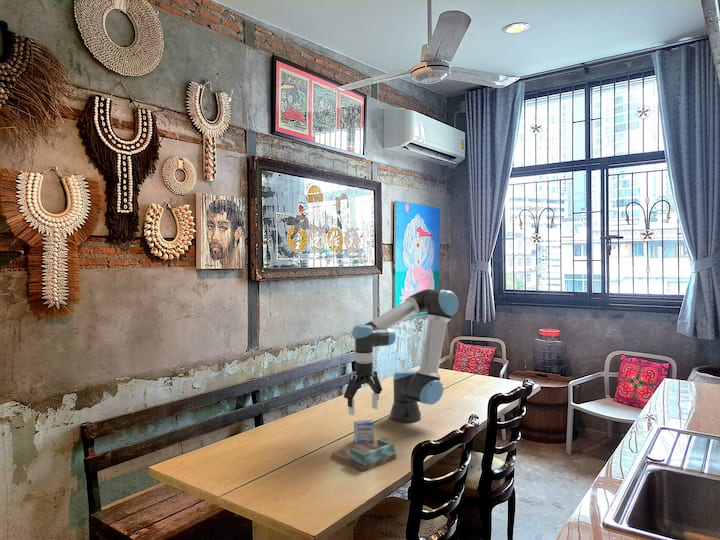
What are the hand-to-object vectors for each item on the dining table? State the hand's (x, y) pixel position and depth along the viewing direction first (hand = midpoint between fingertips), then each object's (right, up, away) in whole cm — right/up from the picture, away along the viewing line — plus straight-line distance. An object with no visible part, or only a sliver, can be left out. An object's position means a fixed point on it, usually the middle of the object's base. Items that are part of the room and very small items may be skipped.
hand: (363, 411), depth 215 cm
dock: (0, -14, -17) cm, 22 cm away
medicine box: (0, -13, +1) cm, 13 cm away
